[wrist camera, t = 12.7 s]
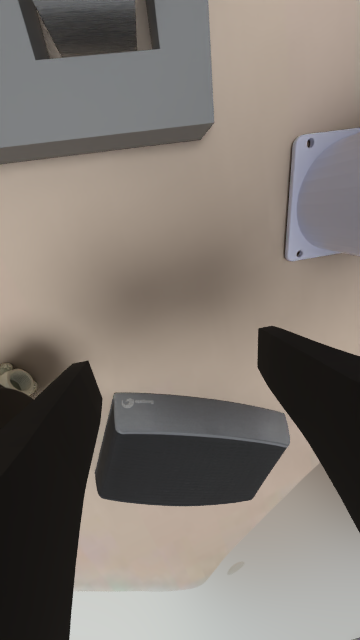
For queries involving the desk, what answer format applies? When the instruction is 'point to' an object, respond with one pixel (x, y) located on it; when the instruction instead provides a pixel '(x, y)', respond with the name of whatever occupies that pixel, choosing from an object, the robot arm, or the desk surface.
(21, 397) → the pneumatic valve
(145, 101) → the socket plate
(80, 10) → the square peg
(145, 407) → the external hard drive
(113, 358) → the desk surface
